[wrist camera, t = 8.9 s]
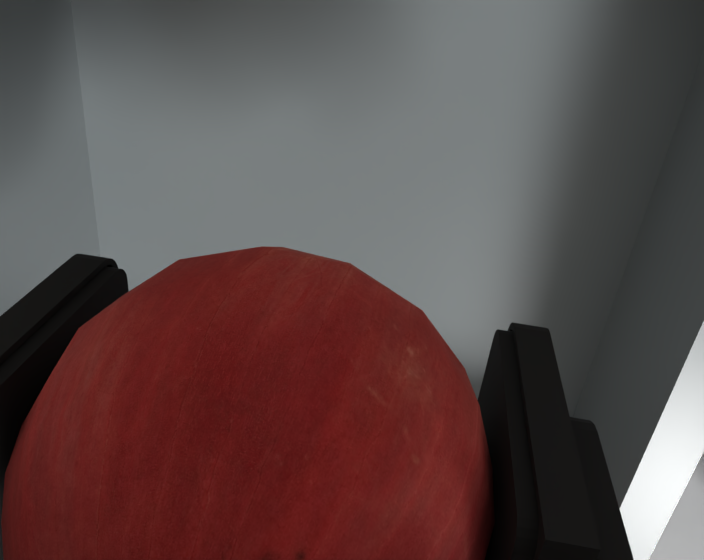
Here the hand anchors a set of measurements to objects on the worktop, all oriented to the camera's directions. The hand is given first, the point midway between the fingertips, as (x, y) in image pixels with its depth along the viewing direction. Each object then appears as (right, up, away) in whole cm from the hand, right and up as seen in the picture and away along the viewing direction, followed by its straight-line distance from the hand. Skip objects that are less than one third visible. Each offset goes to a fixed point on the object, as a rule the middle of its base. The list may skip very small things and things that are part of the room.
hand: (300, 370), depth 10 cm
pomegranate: (0, +1, +1) cm, 2 cm away
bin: (+1, +3, +6) cm, 7 cm away
